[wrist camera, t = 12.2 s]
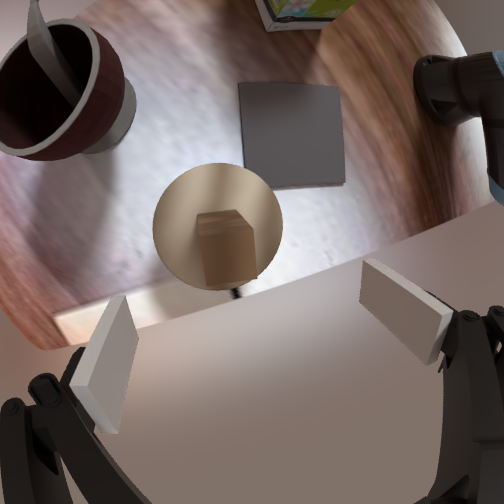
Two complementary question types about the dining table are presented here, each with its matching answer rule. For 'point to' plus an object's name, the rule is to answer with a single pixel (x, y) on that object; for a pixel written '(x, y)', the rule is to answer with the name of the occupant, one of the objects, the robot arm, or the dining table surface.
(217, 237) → the lid
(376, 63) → the dining table surface
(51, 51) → the mate gourd
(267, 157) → the mat
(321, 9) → the tea box
